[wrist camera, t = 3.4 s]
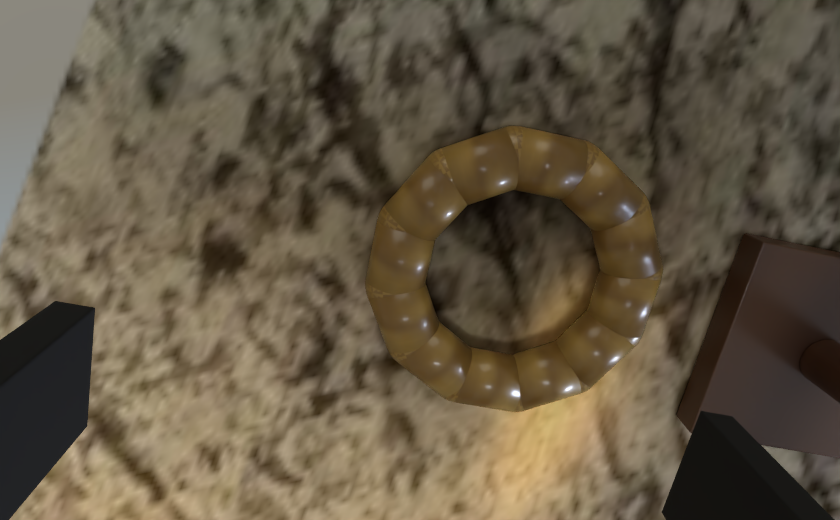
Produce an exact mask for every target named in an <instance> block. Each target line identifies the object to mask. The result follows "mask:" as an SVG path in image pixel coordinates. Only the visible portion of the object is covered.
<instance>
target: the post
mask: <svg viewBox="0 0 840 520" xmlns="http://www.w3.org/2000/svg"><path fill="white" fill-rule="evenodd" d="M700 411H705V412H711V413H717V414H723V415H729V416H733V417H734V418H735V419H736V420H737V421H738V422H739V423H740V424H741V425H742V426H743V428H744V429H745V430H746V431H747V432H748V433H749V434H750V435H751V436H752V437H753V438H754V439H755V440H756V441H757V442H758V443H759V444H760V445H765V446H771V447H777V448H783V449H789V450H795V451H801V452H806V453H812V454H818V455H824V456H830V457H836V458H840V252H835V251H830V250H825V249H820V248H816V247H811V246H806V245H801V244H796V243H791V242H786V241H782V240H777V239H772V238H767V237H762V236H757V235H752V234H748V233H744V235H743V237H742V240H741V243H740V246H739V248H738V251H737V254H736V256H735V259H734V262H733V264H732V267H731V270H730V272H729V275H728V278H727V280H726V283H725V286H724V289H723V291H722V294H721V297H720V299H719V302H718V305H717V307H716V310H715V313H714V315H713V318H712V321H711V323H710V326H709V329H708V332H707V334H706V337H705V340H704V342H703V345H702V348H701V350H700V353H699V356H698V358H697V361H696V364H695V366H694V369H693V372H692V375H691V377H690V380H689V383H688V385H687V388H686V391H685V393H684V396H683V399H682V401H681V404H680V407H679V409H678V412H677V417H678V418H679V419H680V421H681V422H682V423H683V424H684V425H685V427H686V428H687V429H688V430H689V432H690V433H692V432H693V430H694V427H695V424H696V422H697V419H698V417H699V414H700Z"/></svg>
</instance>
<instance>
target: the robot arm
mask: <svg viewBox="0 0 840 520" xmlns="http://www.w3.org/2000/svg"><path fill="white" fill-rule="evenodd" d="M94 315H95V308H93V307H87V306H81V305H75V304H69V303H63V302H58V301H55V302H53V303H52V304H51V305H49V306H48V307H46V308H45V309H44V310H42V311H41V312H39V313H38V314H36V315H35V316H34V317H32V318H31V319H29V320H28V321H27V322H25V323H24V324H22V325H21V326H19V327H18V328H17V329H15V330H14V331H12V332H11V333H10V334H8V335H7V336H5V337H4V338H3V339H1V340H0V520H9V519H10V518H11V516H12V515H13V514H14V513H15V512H16V510H17V509H18V508H19V507H20V506H21V505H22V503H23V502H24V501H25V500H26V499H27V497H28V496H29V495H30V494H31V493H32V491H33V490H34V489H35V488H36V487H37V485H38V484H39V483H40V482H41V481H42V479H43V478H44V477H45V476H46V475H47V473H48V472H49V471H50V470H51V469H52V467H53V466H54V465H55V464H56V463H57V461H58V460H59V459H60V458H61V457H62V455H63V454H64V453H65V452H66V451H67V449H68V448H69V447H70V446H71V445H72V444H73V442H74V441H75V440H76V439H77V438H78V436H79V435H80V434H81V433H82V432H83V430H84V429H85V428H86V427H87V420H88V405H89V390H90V375H91V360H92V345H93V330H94ZM662 513H663V515H664V517H665V518H666V520H834V519H833V518H832V517H831V516H830V515H829V514H828V513H827V512H826V511H825V510H824V509H823V508H822V507H821V506H820V505H819V504H818V503H817V502H816V501H815V500H814V499H813V498H812V497H811V496H810V495H809V494H808V493H807V492H806V491H805V490H804V488H803V487H802V486H801V485H800V484H799V483H798V482H797V481H796V480H795V479H794V478H793V477H792V476H791V475H790V474H789V473H788V472H787V471H786V470H785V469H784V468H783V467H782V466H781V465H780V464H779V463H778V462H777V461H776V460H775V459H774V458H773V457H772V456H771V455H770V454H769V453H768V452H767V451H766V450H765V449H764V448H763V447H762V446H761V445H760V444H759V443H758V442H757V441H756V440H755V439H754V438H753V437H752V436H751V435H750V434H749V433H748V432H747V431H746V430H745V429H744V428H743V426H742V425H741V424H740V423H739V422H738V421H737V420H736V419H735V418H734V417H733V416H729V415H723V414H717V413H711V412H705V411H700V414H699V417H698V419H697V422H696V424H695V427H694V430H693V432H692V435H691V437H690V440H689V443H688V445H687V448H686V450H685V453H684V456H683V458H682V461H681V464H680V466H679V469H678V471H677V474H676V477H675V479H674V482H673V484H672V487H671V490H670V492H669V495H668V497H667V500H666V503H665V505H664V508H663V510H662Z"/></svg>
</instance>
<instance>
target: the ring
mask: <svg viewBox="0 0 840 520" xmlns="http://www.w3.org/2000/svg"><path fill="white" fill-rule="evenodd" d="M512 190H517V191H522V192H527V193H532V194H537V195H542V196H547V197H552V198H556V199H560V200H561V201H562V202H563V203H564V204H565V205H566V206H567V207H568V208H569V209H570V210H571V211H572V212H574V213H575V214H576V215H577V216H578V217H579V218H580V219H581V220H582V221H583V222H584V223H585V224H586V225H587V226H588V227H589V228H590V229H591V233H592V237H593V241H594V246H595V250H596V254H597V258H598V262H599V266H600V271H599V274H598V277H597V280H596V284H595V287H594V290H593V293H592V297H591V300H590V303H589V306H588V310H587V311H586V312H585V313H584V314H583V315H582V316H581V317H579V318H578V319H577V320H576V321H575V322H574V323H573V324H572V325H571V326H570V327H569V328H568V329H567V330H566V331H565V332H564V333H563V334H562V335H561V336H560V337H559V338H558V339H557V340H556V341H554V342H551V343H548V344H545V345H541V346H538V347H535V348H532V349H529V350H525V351H522V352H519V353H516V354H513V355H512V354H506V353H500V352H495V351H489V350H484V349H478V348H472V347H469V346H468V345H467V344H466V343H464V342H463V341H462V340H461V339H460V338H458V337H457V336H456V335H455V334H454V333H452V332H451V331H450V330H449V329H447V328H446V327H445V326H444V325H443V324H441V323H440V322H439V321H438V318H437V315H436V312H435V309H434V306H433V304H432V301H431V298H430V295H429V292H428V289H427V286H426V278H427V274H428V269H429V265H430V260H431V256H432V252H433V247H434V243H435V240H436V239H437V238H438V236H439V235H440V234H441V233H442V232H443V231H444V230H445V229H446V228H447V227H448V226H449V225H450V224H451V222H452V221H453V220H454V219H455V218H456V217H457V216H458V215H459V214H460V213H461V212H462V211H463V210H464V208H465V207H466V206H467V205H469V204H472V203H475V202H478V201H482V200H485V199H488V198H491V197H494V196H497V195H500V194H503V193H506V192H509V191H512ZM662 274H663V264H662V259H661V255H660V250H659V246H658V241H657V236H656V232H655V227H654V222H653V218H652V213H651V209H650V204H649V201H648V199H647V197H646V195H645V194H644V193H643V192H642V191H641V190H640V189H639V188H638V187H637V186H636V185H635V184H634V183H633V182H632V181H631V180H630V179H629V178H628V177H627V176H626V175H625V174H624V173H623V172H622V171H621V170H620V169H619V168H618V167H617V166H616V165H615V164H614V163H613V162H612V161H611V160H610V159H609V158H608V157H607V156H606V155H605V154H604V153H603V152H602V151H601V150H600V149H599V148H598V147H597V146H595V145H594V144H592V143H591V142H588V141H585V140H582V139H577V138H572V137H568V136H563V135H558V134H554V133H549V132H544V131H540V130H535V129H531V128H526V127H521V126H507V127H503V128H500V129H497V130H494V131H491V132H488V133H485V134H482V135H479V136H476V137H473V138H470V139H467V140H464V141H461V142H458V143H455V144H452V145H449V146H446V147H443V148H440V149H438V150H436V151H434V152H433V153H431V154H430V155H429V156H428V157H427V158H426V159H425V160H424V161H423V163H422V164H421V165H420V166H419V167H418V168H417V169H416V170H415V172H414V173H413V174H412V175H411V176H410V177H409V178H408V179H407V180H406V182H405V183H404V184H403V185H402V186H401V187H400V188H399V189H398V191H397V192H396V193H395V194H394V195H393V196H392V197H391V198H390V200H389V201H388V202H387V203H386V204H385V205H384V207H383V208H382V209H381V211H380V213H379V216H378V219H377V224H376V229H375V234H374V239H373V244H372V249H371V255H370V260H369V265H368V270H367V275H366V281H365V288H366V293H367V296H368V299H369V301H370V304H371V307H372V309H373V312H374V315H375V317H376V320H377V323H378V325H379V328H380V331H381V333H382V336H383V339H384V341H385V344H386V347H387V349H388V351H389V353H390V355H391V356H392V357H393V358H394V360H396V361H397V362H398V363H399V364H401V365H402V366H403V367H404V368H406V369H407V370H408V371H409V372H411V373H412V374H413V375H415V376H416V377H417V378H418V379H420V380H421V381H422V382H423V383H425V384H426V385H427V386H428V387H430V388H431V389H432V390H434V391H435V392H436V393H437V394H439V395H440V396H441V397H443V398H444V399H446V400H448V401H452V402H456V403H462V404H468V405H474V406H480V407H486V408H492V409H498V410H504V411H510V412H521V411H525V410H528V409H531V408H535V407H538V406H541V405H545V404H548V403H551V402H554V401H558V400H561V399H564V398H567V397H571V396H574V395H577V394H580V393H583V392H585V391H587V390H588V389H590V388H591V387H592V386H593V385H594V384H595V383H596V382H598V381H599V380H600V379H601V378H602V377H603V376H604V375H605V374H606V373H607V372H608V371H609V370H610V369H611V368H612V367H613V366H614V365H616V364H617V363H618V362H619V361H620V360H621V359H622V358H623V357H624V356H625V355H626V354H627V353H628V352H629V351H630V350H631V349H633V348H634V347H635V346H636V345H637V343H638V342H639V341H640V339H641V337H642V335H643V332H644V329H645V326H646V323H647V320H648V317H649V314H650V311H651V308H652V305H653V302H654V299H655V296H656V293H657V290H658V288H659V285H660V282H661V279H662Z"/></svg>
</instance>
